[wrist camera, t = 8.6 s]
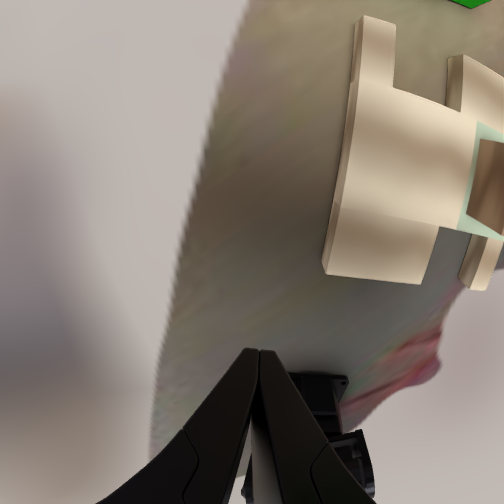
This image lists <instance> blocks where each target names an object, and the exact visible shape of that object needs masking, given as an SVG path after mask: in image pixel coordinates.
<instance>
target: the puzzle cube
mask: <svg viewBox="0 0 504 504" xmlns="http://www.w3.org/2000/svg"><path fill="white" fill-rule="evenodd" d="M452 1H454V2H457V3H459V4H462V5H464V6H467V7H469V8H471V9H472V8H474V7H477V6H479V5H481V4H484V3H486V2H489V1H491V0H452Z"/></svg>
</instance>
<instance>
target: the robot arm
mask: <svg viewBox="0 0 504 504" xmlns="http://www.w3.org/2000/svg"><path fill="white" fill-rule="evenodd" d="M343 381H344V382H343ZM348 384H349V380H348V377H345V376H320V375H302V374H288V373H287V371H286V369H285V368H284V366H283V364H282V363H281V361H280V359H279V357H278V356H277V354H276V352H275V351H272V350H260V352H259V350H258V349H253V348H244V349H243V350H242V352H241V353H240V354H239V356H238V357H237V358H236V360H235V361H234V362H233V364H232V365H231V366H230V368H229V369H228V370H227V371H226V373H225V374H224V375H223V377H222V378H221V379H220V381H219V382H218V383H217V384H216V386H215V387H214V388H213V390H212V391H211V392H210V393H209V395H208V396H207V397H206V398H205V400H204V401H203V402H202V404H201V405H200V406H199V407H198V409H197V410H196V411H195V412H194V414H193V415H192V416H191V417H190V418H189V420H188V421H187V422H186V423H185V425H184V426H183V427H182V429H180V430H179V432H178V433H177V434H176V435H175V436H174V438H173V439H172V440H171V441H170V442H169V443H168V444H167V446H166V447H165V448H164V449H163V450H162V451H161V452H160V453H159V454H158V455H157V456H156V457H155V458H154V459H153V460H151V461H150V462H149V463H148V464H147V465H146V466H145V467H144V468H143V469H141V470H140V471H139V472H138V473H136V474H135V475H134V476H133V477H132V478H130V479H129V480H128V481H127V482H125V483H124V484H123V485H122V486H121V487H119V488H118V489H117V490H115V491H114V492H113V493H111V494H110V495H109V496H107V497H106V498H104V499H103V500H101V501H99V502H98V503H96V504H228V502H229V499H230V495H231V492H232V489H233V485H234V481H235V478H236V474H237V471H238V467H239V463H240V460H241V456H242V452H243V448H244V445H245V441H246V437H247V433H248V429H249V425H250V420H251V445H252V453H251V456H250V460H249V464H248V469H247V473H246V477H245V481H244V485H243V487H242V489H241V495H242V496H243V497H244V498H245V499H246V504H376V503H375V501H374V500H373V499H372V498H374V495H375V485H374V475H373V468H372V464H371V460H370V456H369V453H368V449H367V446H366V442H365V438H364V435H363V431H362V429H359V430H355V432H350V433H345V434H344V432H343V426H342V420H341V415H340V409H339V402H340V400H341V398H342V396H343V394H344V392H345V390H346V388H347V386H348Z"/></svg>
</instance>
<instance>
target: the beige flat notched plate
mask: <svg viewBox="0 0 504 504" xmlns="http://www.w3.org/2000/svg"><path fill="white" fill-rule="evenodd" d="M395 41H396V25H395V24H392V23H389V22H386V21H383V20H380V19H376V18H373V17H370V16H366V15H363V16H362V18H361V19H360V20H359V21H358V22H357V23H356V24H355V33H354V47H353V59H352V70H351V80H350V90H349V99H348V107H347V115H346V123H345V130H344V137H343V144H342V151H341V157H340V164H339V170H338V176H337V182H336V188H335V193H334V199H333V204H332V209H331V215H330V220H329V225H328V230H327V235H326V240H325V245H324V249H323V254H322V258H321V262H322V265H323V267H324V270H325V273H326V274H328V275H337V276H346V277H355V278H364V279H373V280H382V281H391V282H401V283H410V284H420V285H421V282H422V279H423V276H424V274H425V271H426V268H427V265H428V262H429V259H430V256H431V253H432V250H433V246H434V243H435V240H436V236H437V233H438V229H439V226H442V227H446V228H451V229H455V230H459V231H464V232H468V233H472V236H471V240H470V243H469V246H468V249H467V252H466V255H465V258H464V261H463V264H462V266H461V269H460V272H459V275H458V278H459V279H460V280H461V281H462V282H463V283H464V284H465V285H466V286H467V287H468V288H469V289H470V290H481V291H485V290H486V288H487V285H488V283H489V281H490V278H491V276H492V273H493V271H494V268H495V265H496V262H497V260H498V257H499V254H500V251H501V248H502V245H503V242H504V236H501V235H500V234H498V233H497V232H495V231H493V230H492V229H490V228H489V227H487V226H485V225H484V224H482V223H480V222H479V221H477V220H475V219H474V218H472V217H470V216H468V215H467V214H466V210H467V206H468V202H469V198H470V194H471V189H472V184H473V179H474V174H475V169H476V163H477V157H478V151H479V144H480V139H485V140H491V141H497V142H502V143H504V78H503V77H502V76H500V75H499V74H497V73H495V72H494V71H492V70H491V69H489V68H487V67H486V66H484V65H482V64H481V63H479V62H477V61H475V60H473V59H472V58H470V57H468V56H466V55H464V54H462V55H458V56H454V57H451V58H448V75H447V92H446V105H445V106H443V105H441V104H438V103H436V102H433V101H430V100H428V99H425V98H422V97H420V96H417V95H414V94H411V93H408V92H405V91H402V90H399V89H396V88H393V75H394V61H395Z"/></svg>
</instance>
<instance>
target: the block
mask: <svg viewBox="0 0 504 504" xmlns="http://www.w3.org/2000/svg"><path fill="white" fill-rule="evenodd" d="M466 214H467V215H468V216H470V217H472V218H474V219H475V220H477V221H479V222H480V223H482V224H484V225H485V226H487V227H489V228H490V229H492V230H493V231H495V232H497V233H498V234H500V235H501V236H504V143H502V142H497V141H491V140H485V139H480V144H479V151H478V157H477V163H476V169H475V174H474V179H473V184H472V189H471V194H470V198H469V202H468V206H467V210H466Z"/></svg>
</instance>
